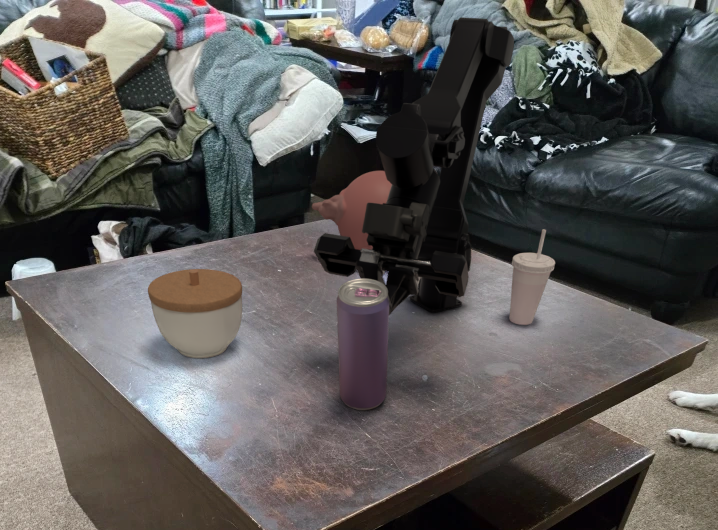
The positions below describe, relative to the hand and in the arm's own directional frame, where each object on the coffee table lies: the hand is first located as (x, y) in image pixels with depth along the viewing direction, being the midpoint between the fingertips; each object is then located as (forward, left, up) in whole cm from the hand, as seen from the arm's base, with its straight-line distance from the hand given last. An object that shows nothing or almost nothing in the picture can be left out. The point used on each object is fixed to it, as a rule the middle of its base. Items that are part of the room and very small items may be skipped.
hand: (371, 329), depth 78 cm
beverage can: (+1, -2, -9) cm, 9 cm away
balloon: (-42, +27, -9) cm, 51 cm away
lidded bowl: (-23, -14, -9) cm, 28 cm away
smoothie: (-7, +34, -9) cm, 36 cm away
